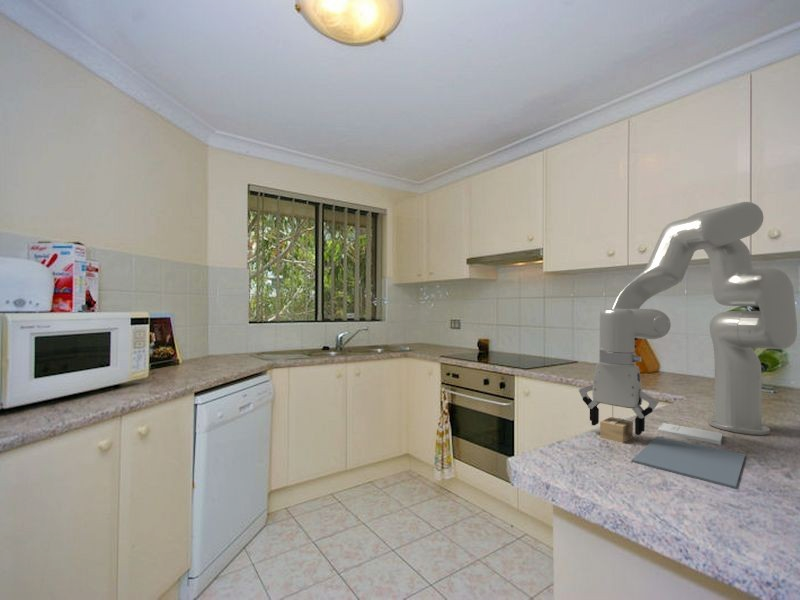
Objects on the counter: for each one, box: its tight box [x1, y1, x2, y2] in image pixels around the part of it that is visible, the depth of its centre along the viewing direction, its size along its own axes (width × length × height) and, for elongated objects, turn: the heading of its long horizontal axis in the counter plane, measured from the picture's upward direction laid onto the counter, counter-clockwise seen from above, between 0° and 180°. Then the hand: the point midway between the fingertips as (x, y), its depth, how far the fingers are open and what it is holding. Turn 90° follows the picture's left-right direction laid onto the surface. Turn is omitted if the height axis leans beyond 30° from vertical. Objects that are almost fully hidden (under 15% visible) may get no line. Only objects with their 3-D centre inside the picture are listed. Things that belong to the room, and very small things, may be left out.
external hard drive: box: [657, 422, 724, 445], centre depth 97 cm, size 2×8×12 cm
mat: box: [631, 436, 746, 489], centre depth 80 cm, size 22×16×1 cm
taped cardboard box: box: [599, 416, 634, 444], centre depth 93 cm, size 7×5×4 cm
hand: (616, 428), depth 93 cm, fingers open, 9 cm apart
